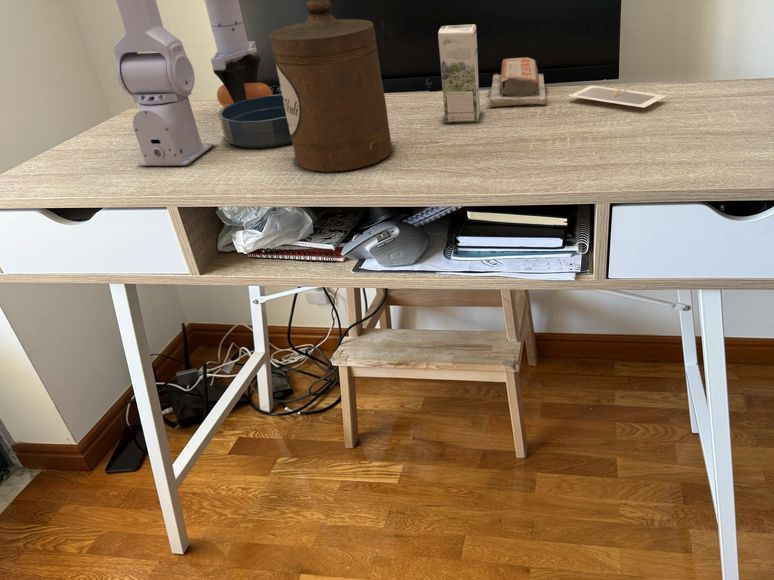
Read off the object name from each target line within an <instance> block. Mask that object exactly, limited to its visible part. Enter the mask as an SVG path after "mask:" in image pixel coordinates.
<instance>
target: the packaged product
mask: <svg viewBox="0 0 774 580" xmlns="http://www.w3.org/2000/svg"><path fill="white" fill-rule="evenodd" d="M537 66H538V65H537V61H536V60H535V59H534V58H530V57H528V56H526V57H513V58H512V57H511V58H504V59H502V62H501V67H500V70H501V71H500V74H498V73H495V74H493V75H492V84H491V90H490V96H489V97H490V98H489V102H490V107H491V108H494V107H495V108H496V107H505V106H528V105H529V106H531V105H532V106H533V105H543V106H544V105H546V99H547V97H546V89H545V79H544V74H543V73H539V71H538V67H537Z"/></svg>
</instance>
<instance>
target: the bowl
mask: <svg viewBox="0 0 774 580" xmlns="http://www.w3.org/2000/svg"><path fill="white" fill-rule="evenodd" d="M217 116H218V119H219V122H220V126H221V130H222V134H223V137H224V139H225V140H226V142H227V143H230V144H231V145H233V146H236V147H239V148H245V149H267V148H276V147H281V146H282V147H283V146H286V145H291V144H293V143H292V139H291V135H290V130H289V126H288V122H287V117H286V112H285V108H284V103H283V97H282V93H281V94H280V93H279V94H273V95H269V96H262V97H256V98H251V99H247V100H243V101H240V102H236V103H234V104H231V105H229V106H227V107H225V108H224V109H223V108H222V109H221V110H220V111H219V113H218V114H217Z"/></svg>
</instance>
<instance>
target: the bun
mask: <svg viewBox="0 0 774 580" xmlns="http://www.w3.org/2000/svg"><path fill="white" fill-rule="evenodd" d="M244 87H245V94H246V100H247V99H251V98H256V97H262V96H269V95H274V93H273V91H272V89H271V88H270V86H268V84H266V83H264V82H257V83H244ZM216 99H217V101H218V104H220V105H221V106H222V109H224V108H225V107H227V106H229V105H231V104H234V102H233V100H232V98H231V96H230V94H229V92H228V91H227V89H226V87H225V86H224V84H222V85H220V86H219V87H218V89H217V92H216Z"/></svg>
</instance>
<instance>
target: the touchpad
mask: <svg viewBox="0 0 774 580" xmlns="http://www.w3.org/2000/svg"><path fill="white" fill-rule="evenodd" d="M568 97H572V98H579V99H584V100H590V101H591V100H592V101H598V102H604V103H611V104H616V105H617V104H618V105H624V106H630V107H636V108H644V109H645V108H647V107H649V106H651V105H652V104H654V103H657V102H658V101H660V100H662V99H664V98H666V97H667V95H664V94H657V93H650V92H643V91H636V90H635V91H634V90H628V89H621V88H614V87H605V86H600V85H593V84H592V85H589V86H587V87H585V88H582V89H581V90H578V91H576V92H573V93H571V94H569V95H568Z"/></svg>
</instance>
